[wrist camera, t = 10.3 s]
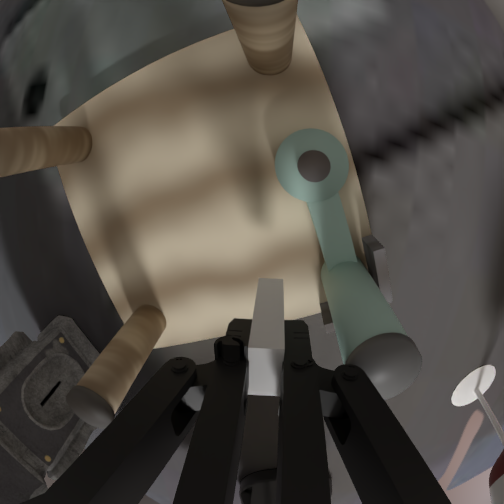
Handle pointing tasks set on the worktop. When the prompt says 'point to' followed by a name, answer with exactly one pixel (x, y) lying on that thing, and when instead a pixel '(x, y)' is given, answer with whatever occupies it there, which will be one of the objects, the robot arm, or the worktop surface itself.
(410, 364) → the folding leg
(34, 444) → the figurine
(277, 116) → the stool
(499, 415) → the worktop surface
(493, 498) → the wineglass
